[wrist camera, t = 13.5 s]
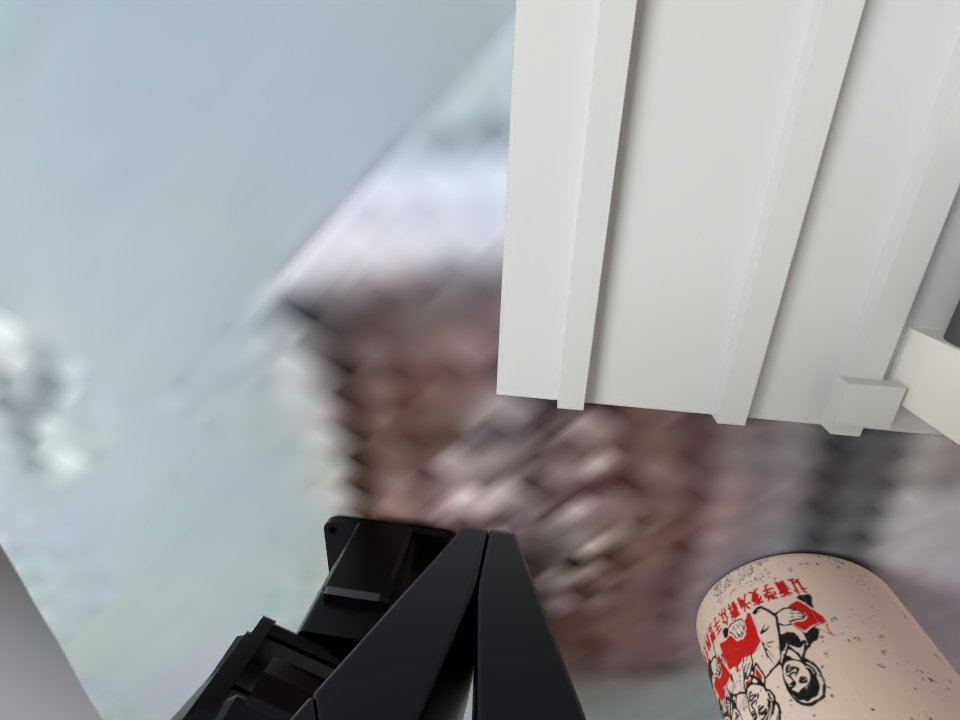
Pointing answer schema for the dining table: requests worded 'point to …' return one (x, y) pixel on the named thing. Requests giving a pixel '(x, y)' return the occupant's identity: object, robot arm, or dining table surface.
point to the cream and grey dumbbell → (932, 375)
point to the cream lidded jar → (819, 646)
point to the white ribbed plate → (730, 205)
